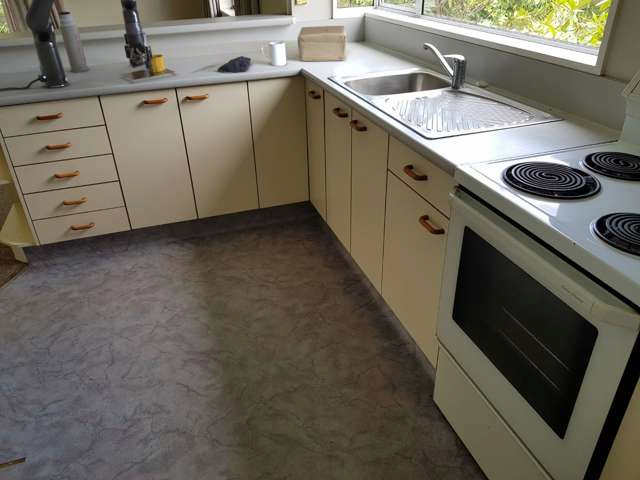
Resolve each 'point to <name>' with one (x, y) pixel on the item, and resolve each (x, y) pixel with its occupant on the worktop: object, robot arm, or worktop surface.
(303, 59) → the paper package
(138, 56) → the coffee box
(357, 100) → the worktop surface
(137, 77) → the board
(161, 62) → the pot
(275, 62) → the mug
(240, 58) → the dark slate chunk
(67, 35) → the thermos bottle
